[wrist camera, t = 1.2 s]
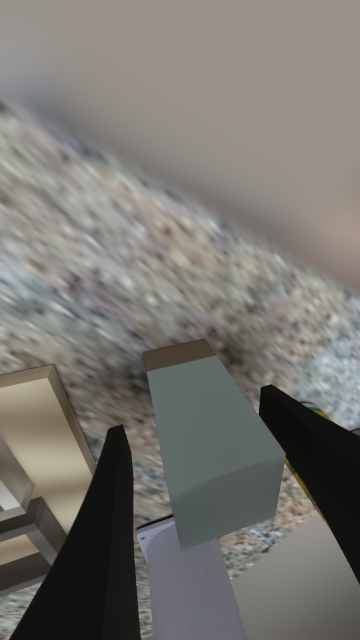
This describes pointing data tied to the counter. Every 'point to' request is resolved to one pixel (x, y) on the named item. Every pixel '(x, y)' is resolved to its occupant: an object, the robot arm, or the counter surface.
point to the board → (37, 474)
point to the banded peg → (210, 445)
